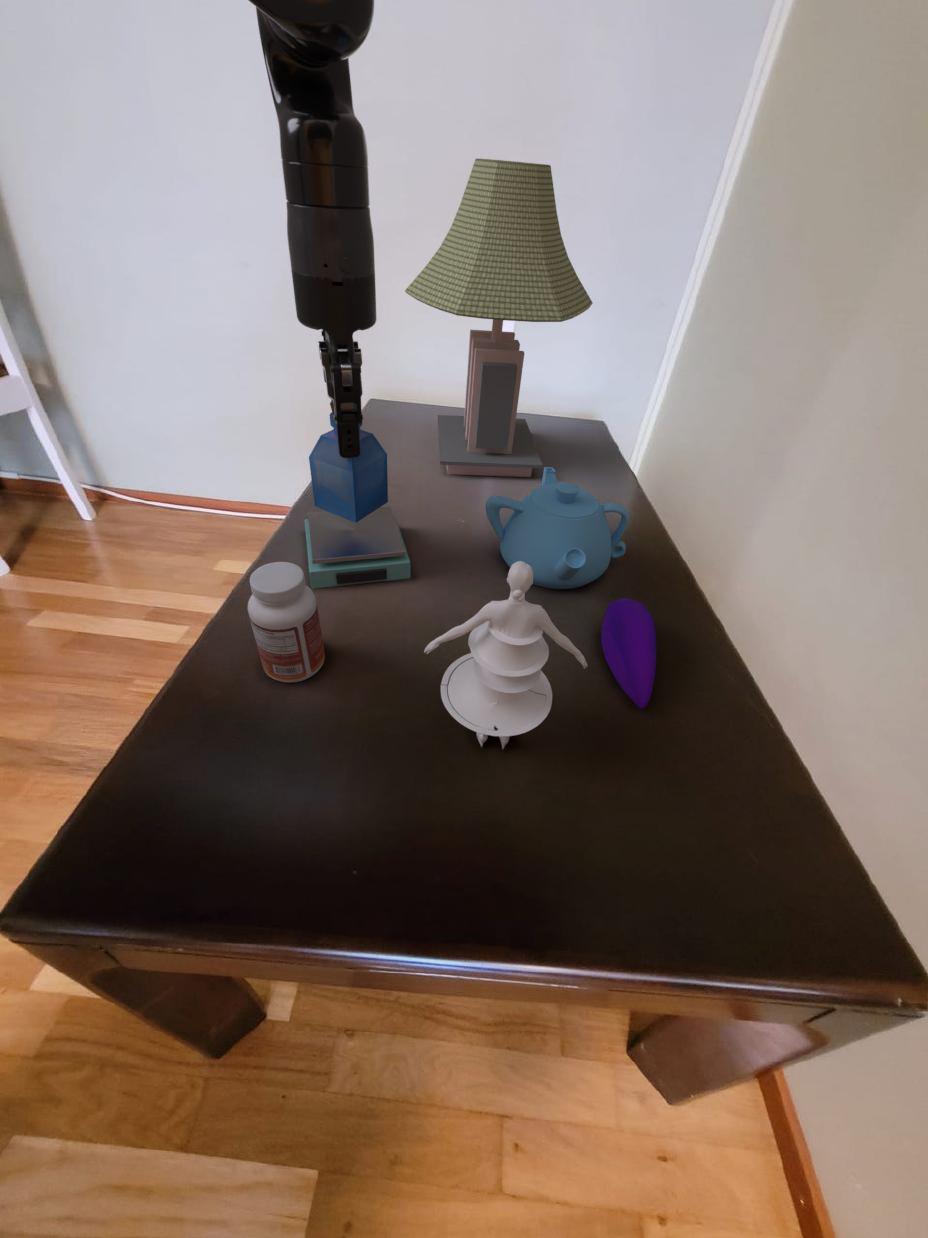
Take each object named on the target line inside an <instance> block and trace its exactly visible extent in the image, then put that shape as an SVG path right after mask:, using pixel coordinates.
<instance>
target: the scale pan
mask: <svg viewBox="0 0 928 1238" xmlns="http://www.w3.org/2000/svg"><path fill="white" fill-rule="evenodd" d="M306 513H307V519H308V524H309V534H310V544H311V554H312V563H313V564H320V563H331V562H341V561H352V560H362V559H373V558H384V557H394V556H405V555H406V551H405V548H404V545H403V542H402V539H401V536H400V533H399V530H398V527H397V523H398V522H397V523H396V520H397V519H396V520H395V517H396V516H395V517H394V514H395V513H394V512H393V509H392V506H381V507H380V508H378V509H377V510H375V511H373V512H372V513H370V514H369V515H367V516H366V517H364V518H363V519H361V520H360V521H358V522H357V523H354V522H352V521H350V520H347V519H345V518H342V517H340V516H337V515H335V514H332V513H330V512H328V511H325V510H323V511H310V512H308V511H307V512H306ZM393 513H394V514H393Z"/></svg>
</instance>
